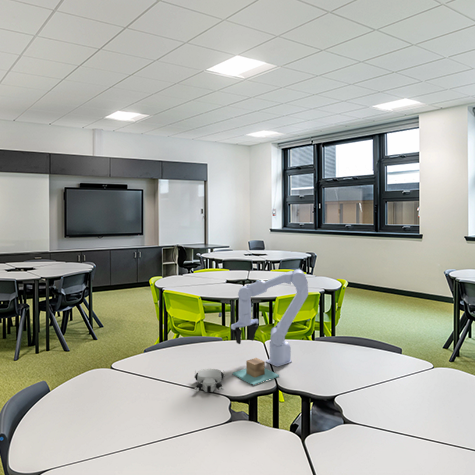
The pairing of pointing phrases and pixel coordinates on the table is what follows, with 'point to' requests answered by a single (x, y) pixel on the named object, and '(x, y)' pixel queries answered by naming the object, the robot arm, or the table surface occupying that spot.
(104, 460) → the table surface
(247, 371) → the walnut cube
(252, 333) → the robot arm
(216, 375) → the robot toy
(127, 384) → the table surface
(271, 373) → the teal board
